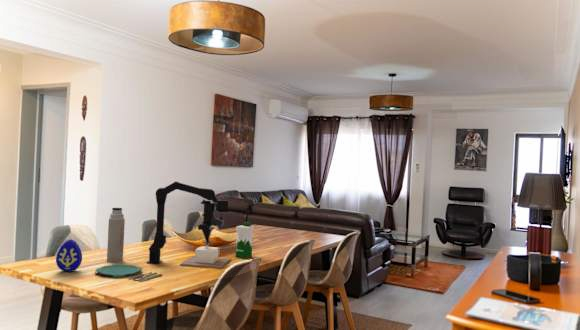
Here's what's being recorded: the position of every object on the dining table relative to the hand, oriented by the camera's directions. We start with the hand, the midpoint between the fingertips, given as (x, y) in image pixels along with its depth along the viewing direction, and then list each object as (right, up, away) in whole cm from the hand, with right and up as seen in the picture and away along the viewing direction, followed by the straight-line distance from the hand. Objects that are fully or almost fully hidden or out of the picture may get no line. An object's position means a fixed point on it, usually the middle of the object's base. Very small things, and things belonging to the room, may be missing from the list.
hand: (207, 241), depth 253 cm
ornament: (-60, -9, -32) cm, 69 cm away
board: (-1, -12, 0) cm, 12 cm away
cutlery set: (-32, -11, -33) cm, 48 cm away
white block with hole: (-1, -12, 0) cm, 12 cm away
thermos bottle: (-48, -10, -5) cm, 50 cm away
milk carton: (+17, -13, +20) cm, 30 cm away
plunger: (0, -7, 0) cm, 7 cm away
